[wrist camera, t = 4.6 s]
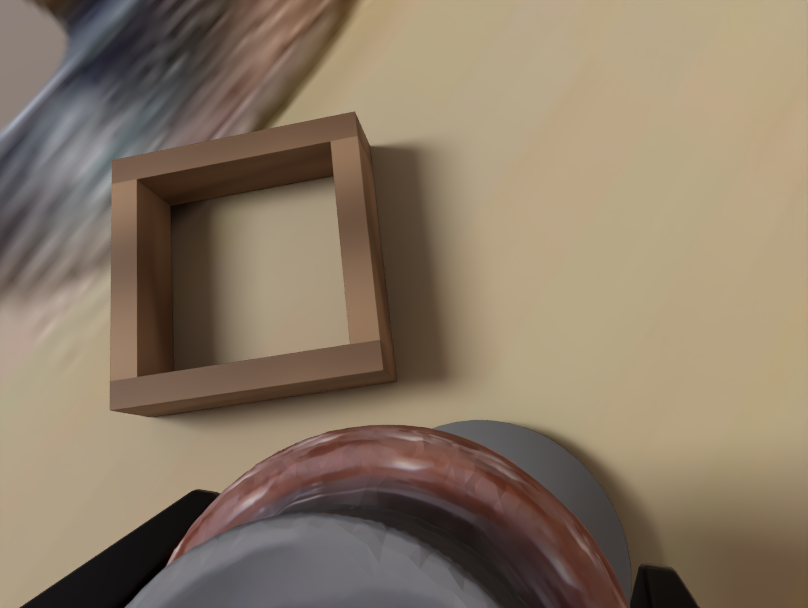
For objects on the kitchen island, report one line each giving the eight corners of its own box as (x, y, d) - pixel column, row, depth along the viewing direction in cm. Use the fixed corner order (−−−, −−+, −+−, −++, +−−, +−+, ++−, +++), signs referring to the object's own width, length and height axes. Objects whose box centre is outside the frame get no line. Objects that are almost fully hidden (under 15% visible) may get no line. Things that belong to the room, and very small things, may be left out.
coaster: (690, 590, 20) (697, 594, 19) (466, 785, 20) (464, 797, 19) (496, 368, 23) (496, 364, 22) (297, 536, 22) (289, 538, 22)
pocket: (396, 381, 23) (383, 369, 21) (149, 416, 24) (109, 410, 22) (369, 145, 26) (354, 111, 23) (147, 188, 27) (112, 160, 25)
